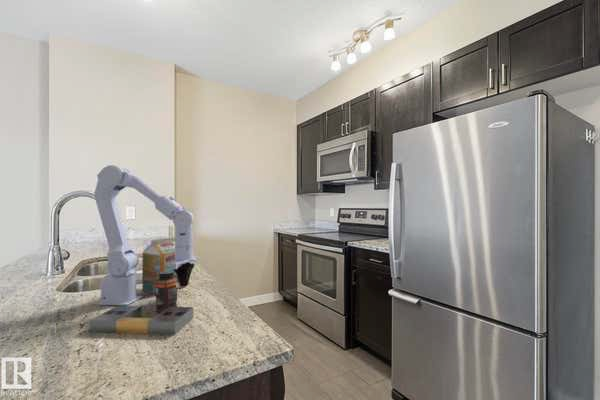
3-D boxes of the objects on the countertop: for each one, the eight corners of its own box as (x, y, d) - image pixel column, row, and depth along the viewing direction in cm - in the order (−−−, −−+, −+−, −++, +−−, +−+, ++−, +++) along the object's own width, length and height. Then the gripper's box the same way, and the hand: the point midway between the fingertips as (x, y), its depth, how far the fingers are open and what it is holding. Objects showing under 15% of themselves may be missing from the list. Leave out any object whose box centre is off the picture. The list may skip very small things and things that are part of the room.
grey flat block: (89, 332, 70) (89, 319, 70) (117, 316, 80) (117, 305, 80) (175, 334, 69) (175, 321, 69) (193, 318, 79) (193, 306, 79)
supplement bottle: (181, 306, 88) (181, 269, 88) (170, 313, 82) (170, 274, 83) (163, 305, 89) (163, 269, 89) (151, 312, 83) (151, 274, 83)
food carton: (168, 283, 114) (168, 236, 114) (185, 287, 108) (185, 237, 109) (142, 290, 104) (142, 239, 105) (159, 295, 99) (160, 240, 99)
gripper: (185, 249, 89) (185, 292, 89) (204, 243, 104) (204, 280, 104) (163, 249, 90) (163, 292, 90) (185, 243, 104) (185, 280, 104)
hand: (184, 285), depth 97 cm, fingers closed
